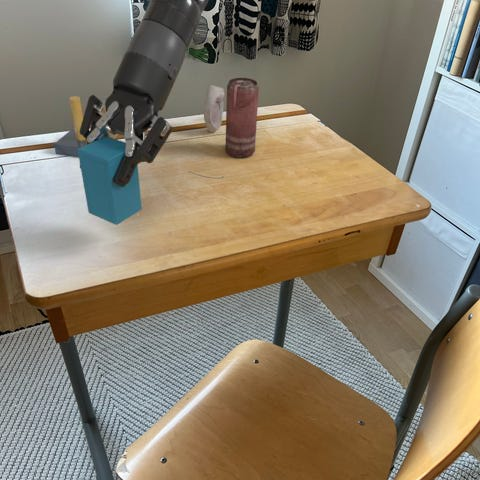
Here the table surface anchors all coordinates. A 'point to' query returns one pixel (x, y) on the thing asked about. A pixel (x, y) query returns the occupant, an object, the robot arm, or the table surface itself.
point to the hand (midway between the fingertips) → (101, 177)
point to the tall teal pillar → (108, 181)
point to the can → (241, 117)
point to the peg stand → (72, 132)
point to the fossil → (213, 108)
